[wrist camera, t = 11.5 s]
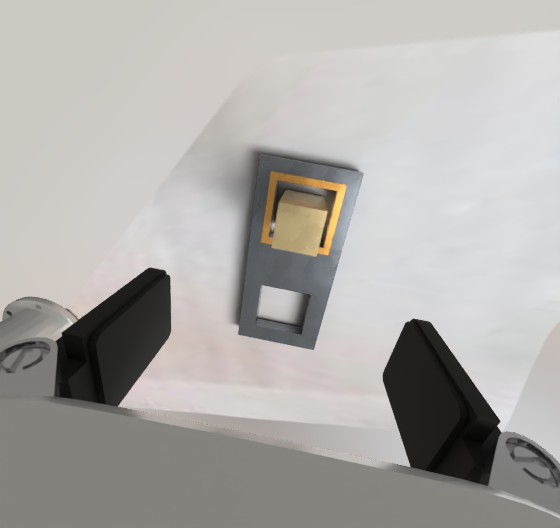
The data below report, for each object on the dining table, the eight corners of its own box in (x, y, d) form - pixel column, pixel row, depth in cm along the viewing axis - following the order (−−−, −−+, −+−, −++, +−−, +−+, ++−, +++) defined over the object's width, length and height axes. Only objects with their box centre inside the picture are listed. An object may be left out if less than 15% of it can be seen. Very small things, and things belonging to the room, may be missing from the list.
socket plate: (313, 342, 35) (313, 350, 33) (241, 327, 35) (237, 335, 34) (361, 171, 26) (364, 173, 24) (262, 153, 26) (259, 154, 25)
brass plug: (315, 232, 29) (316, 256, 23) (280, 225, 29) (271, 247, 23) (323, 196, 27) (327, 211, 21) (286, 189, 27) (278, 202, 21)
